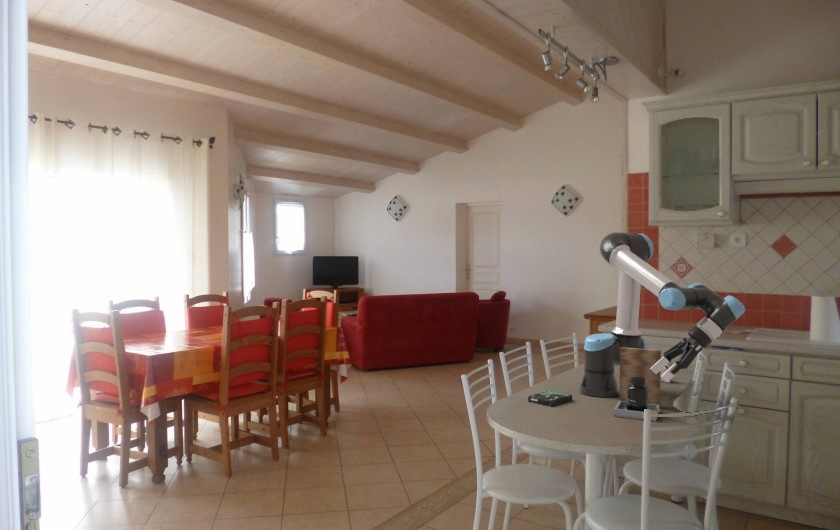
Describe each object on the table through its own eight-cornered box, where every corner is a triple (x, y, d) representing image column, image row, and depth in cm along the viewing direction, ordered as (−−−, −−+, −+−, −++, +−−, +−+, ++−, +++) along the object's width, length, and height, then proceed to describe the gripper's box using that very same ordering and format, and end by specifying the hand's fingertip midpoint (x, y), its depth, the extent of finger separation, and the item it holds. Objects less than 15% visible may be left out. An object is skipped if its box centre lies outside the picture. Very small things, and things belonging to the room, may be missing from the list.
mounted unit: (619, 404, 226) (620, 348, 225) (621, 401, 231) (622, 346, 231) (659, 408, 220) (660, 351, 219) (660, 405, 225) (661, 348, 224)
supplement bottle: (626, 413, 210) (626, 379, 210) (627, 409, 217) (627, 375, 216) (647, 415, 208) (647, 380, 208) (647, 411, 214) (648, 377, 214)
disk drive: (551, 408, 221) (572, 401, 232) (551, 401, 221) (572, 394, 232) (527, 403, 229) (549, 396, 239) (527, 396, 228) (549, 389, 239)
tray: (613, 416, 209) (613, 409, 209) (619, 407, 221) (619, 400, 221) (656, 421, 203) (656, 413, 203) (659, 412, 215) (659, 405, 215)
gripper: (726, 346, 196) (677, 391, 198) (699, 336, 220) (656, 375, 223) (709, 329, 196) (660, 374, 198) (684, 321, 221) (641, 361, 223)
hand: (658, 375), depth 210 cm, fingers open, 13 cm apart
